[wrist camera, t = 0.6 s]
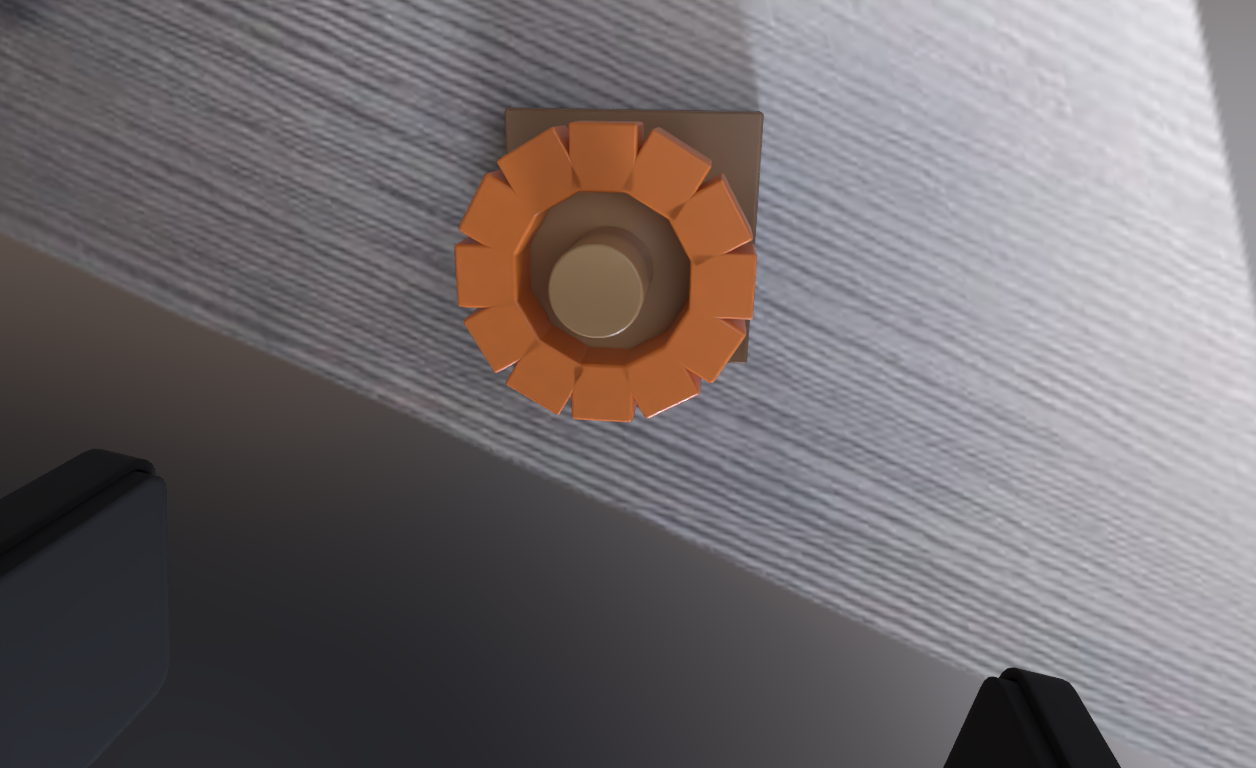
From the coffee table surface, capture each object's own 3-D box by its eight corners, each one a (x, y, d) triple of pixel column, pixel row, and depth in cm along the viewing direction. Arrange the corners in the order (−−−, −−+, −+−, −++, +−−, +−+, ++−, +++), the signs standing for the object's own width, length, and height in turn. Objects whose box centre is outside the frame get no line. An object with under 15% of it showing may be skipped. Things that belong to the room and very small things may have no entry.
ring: (465, 118, 18) (445, 119, 16) (762, 123, 17) (766, 125, 16) (480, 393, 20) (463, 414, 19) (743, 407, 19) (745, 430, 18)
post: (514, 107, 23) (417, 109, 15) (762, 111, 22) (780, 115, 15) (522, 342, 25) (441, 438, 18) (745, 352, 24) (755, 457, 17)
